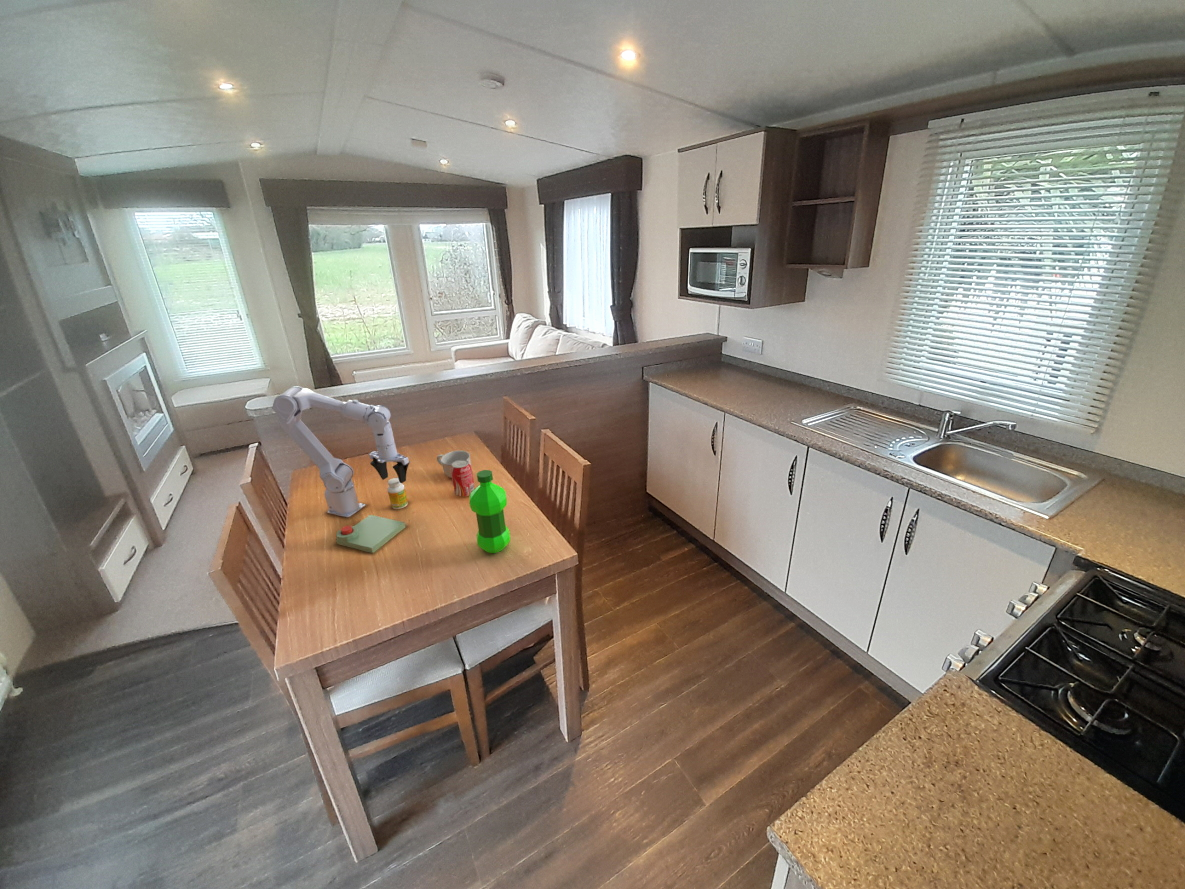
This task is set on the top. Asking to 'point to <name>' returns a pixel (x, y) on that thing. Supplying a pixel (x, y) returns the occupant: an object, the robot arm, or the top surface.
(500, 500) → the plastic bottle
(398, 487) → the supplement bottle
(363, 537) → the scale
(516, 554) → the top surface
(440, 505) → the top surface
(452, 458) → the teacup
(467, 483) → the soda can
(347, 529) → the button
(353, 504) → the robot arm
